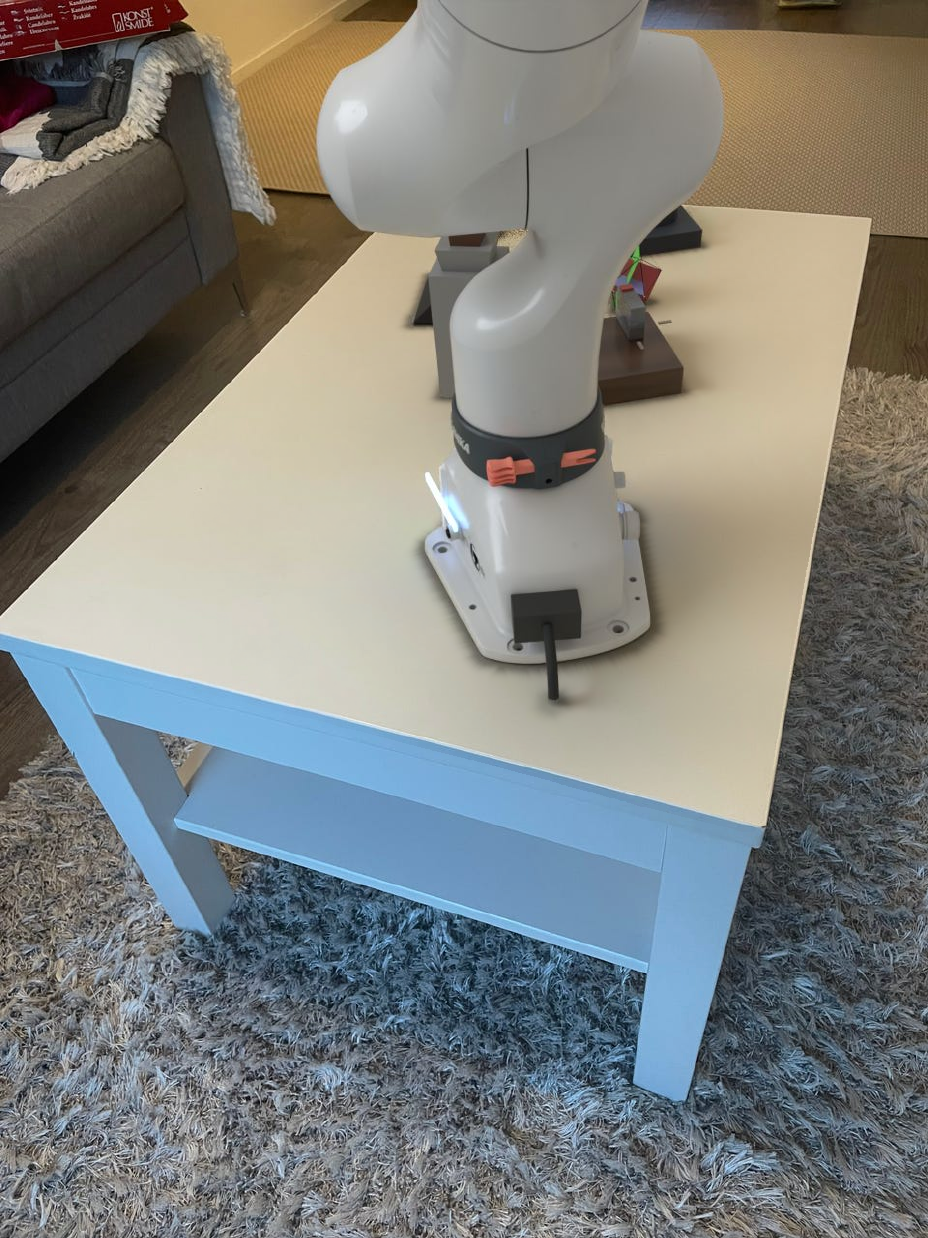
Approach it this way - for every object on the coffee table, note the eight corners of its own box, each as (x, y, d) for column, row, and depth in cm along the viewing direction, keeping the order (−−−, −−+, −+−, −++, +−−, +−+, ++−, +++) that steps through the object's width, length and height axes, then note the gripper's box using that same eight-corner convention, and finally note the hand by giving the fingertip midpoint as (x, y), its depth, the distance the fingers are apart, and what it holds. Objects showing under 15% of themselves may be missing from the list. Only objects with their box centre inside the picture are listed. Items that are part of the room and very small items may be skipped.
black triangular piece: (472, 326, 112) (469, 289, 109) (410, 326, 113) (406, 289, 110) (484, 275, 121) (481, 239, 117) (426, 276, 122) (422, 240, 118)
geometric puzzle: (671, 270, 114) (633, 217, 110) (674, 298, 109) (634, 244, 105) (621, 305, 117) (582, 255, 113) (621, 333, 113) (580, 282, 109)
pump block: (700, 246, 122) (704, 215, 119) (624, 258, 121) (625, 226, 118) (670, 209, 130) (672, 178, 127) (598, 219, 130) (599, 189, 127)
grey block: (643, 338, 102) (646, 304, 99) (629, 340, 101) (631, 306, 99) (630, 315, 105) (632, 282, 102) (615, 317, 105) (617, 284, 102)
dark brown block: (696, 390, 100) (699, 363, 97) (587, 407, 99) (588, 380, 96) (655, 326, 109) (657, 300, 107) (555, 342, 108) (555, 316, 106)
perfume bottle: (503, 400, 101) (495, 231, 88) (440, 397, 102) (423, 229, 89) (513, 366, 105) (507, 200, 92) (453, 363, 107) (439, 199, 94)
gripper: (437, -106, 73) (451, 92, 83) (698, -139, 74) (681, 60, 84) (424, -120, 77) (439, 70, 87) (671, -151, 79) (658, 40, 88)
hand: (560, 65), depth 86 cm, fingers open, 8 cm apart
